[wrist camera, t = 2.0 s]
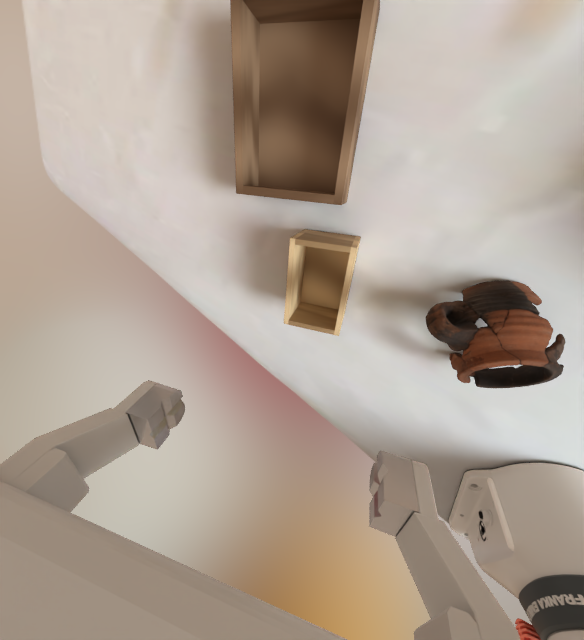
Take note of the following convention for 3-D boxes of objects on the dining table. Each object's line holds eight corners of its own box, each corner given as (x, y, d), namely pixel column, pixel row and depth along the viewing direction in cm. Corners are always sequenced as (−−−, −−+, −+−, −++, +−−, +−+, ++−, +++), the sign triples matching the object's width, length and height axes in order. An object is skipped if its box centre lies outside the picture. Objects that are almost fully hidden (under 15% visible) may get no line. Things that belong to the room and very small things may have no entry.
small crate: (344, 312, 30) (338, 335, 25) (297, 303, 31) (283, 323, 27) (360, 236, 26) (357, 247, 21) (304, 229, 27) (290, 238, 22)
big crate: (346, 202, 25) (341, 205, 21) (255, 192, 27) (236, 193, 23) (379, 9, 18) (380, -34, 15) (255, 16, 20) (229, -20, 17)
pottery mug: (567, 285, 23) (615, 370, 19) (483, 331, 31) (503, 398, 27) (447, 257, 22) (469, 339, 18) (392, 312, 30) (398, 377, 26)
